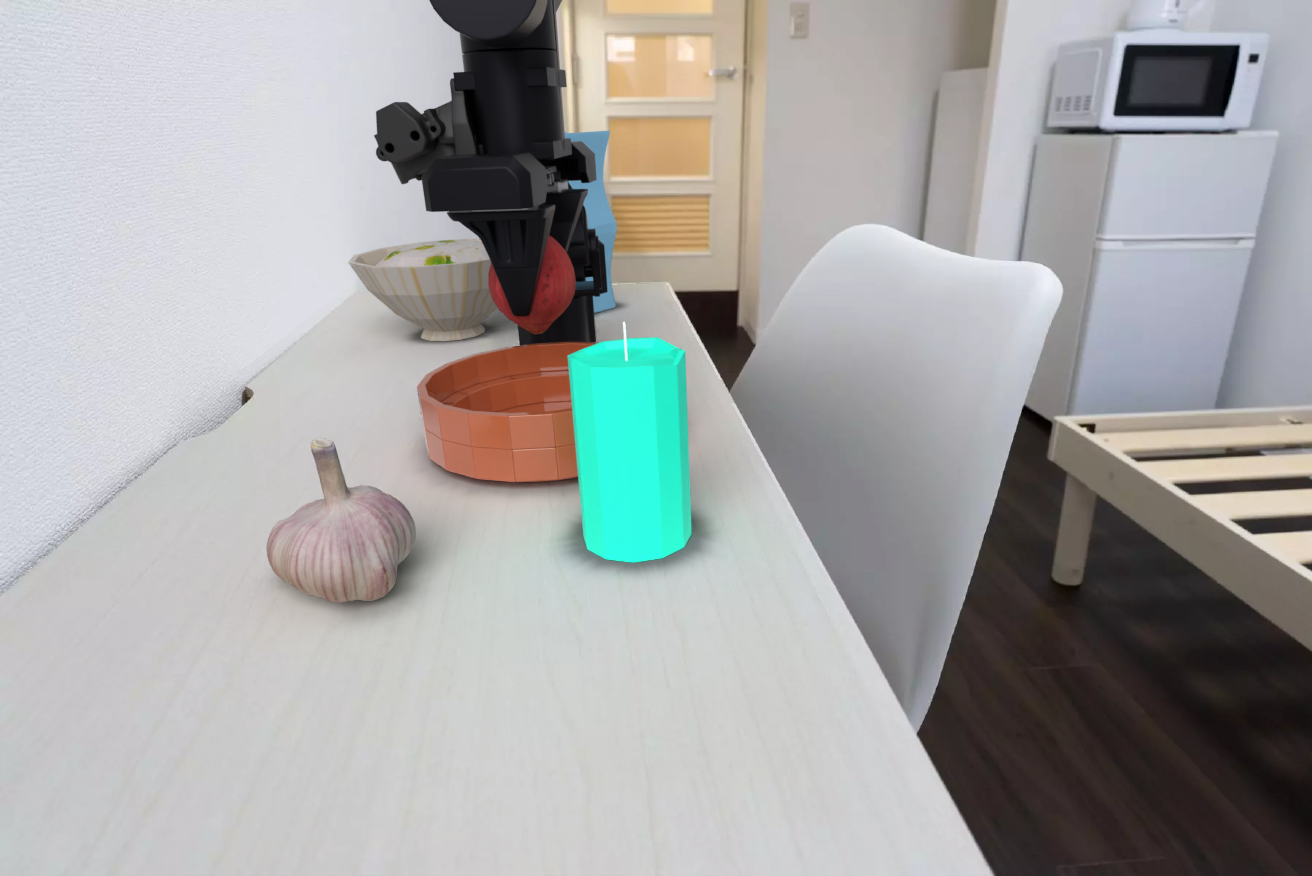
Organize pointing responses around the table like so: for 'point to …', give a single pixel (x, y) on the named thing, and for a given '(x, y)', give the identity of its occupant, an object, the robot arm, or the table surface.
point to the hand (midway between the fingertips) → (534, 305)
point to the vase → (598, 209)
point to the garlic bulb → (342, 537)
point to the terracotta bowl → (503, 414)
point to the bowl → (432, 285)
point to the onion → (542, 290)
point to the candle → (632, 447)
